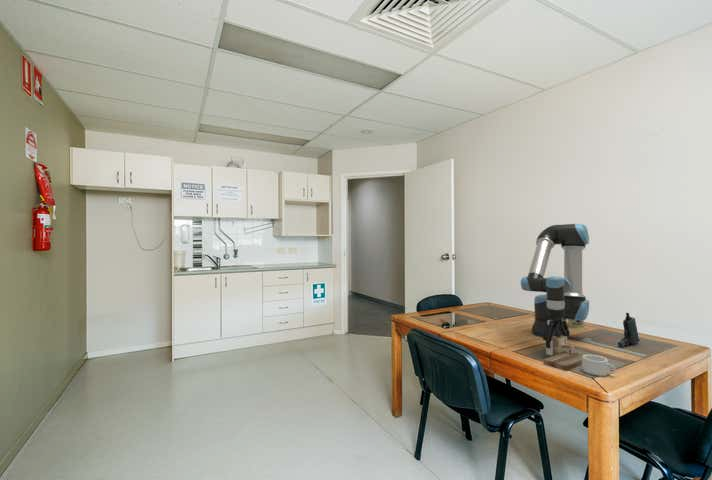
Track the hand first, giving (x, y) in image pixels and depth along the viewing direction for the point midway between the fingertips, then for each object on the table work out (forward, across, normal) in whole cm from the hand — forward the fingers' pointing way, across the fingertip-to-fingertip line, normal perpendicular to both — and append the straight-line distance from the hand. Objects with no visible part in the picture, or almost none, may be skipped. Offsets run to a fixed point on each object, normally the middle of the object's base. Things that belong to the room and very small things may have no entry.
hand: (556, 351), depth 161 cm
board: (+1, -7, -8) cm, 11 cm away
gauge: (+1, 0, -3) cm, 3 cm away
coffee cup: (+1, +59, +19) cm, 62 cm away
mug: (+2, -8, -21) cm, 23 cm away
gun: (+1, +42, -14) cm, 44 cm away
